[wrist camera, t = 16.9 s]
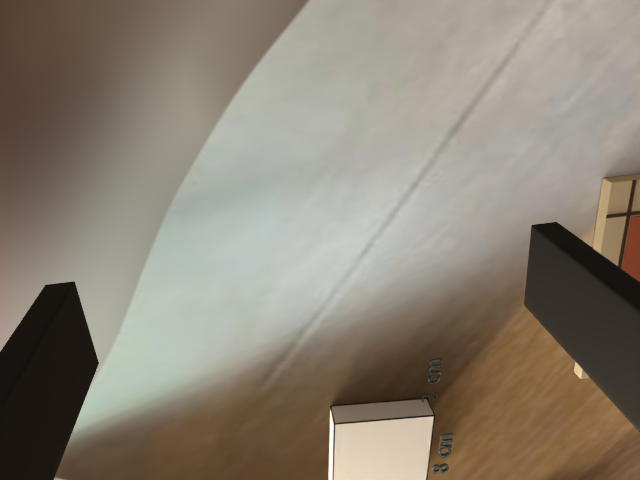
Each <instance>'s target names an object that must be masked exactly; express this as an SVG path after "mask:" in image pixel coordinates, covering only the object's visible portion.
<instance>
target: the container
mask: <svg viewBox="0 0 640 480" xmlns="http://www.w3.org/2000/svg"><path fill="white" fill-rule="evenodd" d="M441 361H442V358H434V359H431V360H429V365H430V366H429V367H428V371H429V372H428V375H437V374H441V372H440V371H431V369H433V368H441V367H442V366H441V364H439V365H431V364H432V363H433V362H441ZM437 376H438V378H437V380H435V381H430V380H429V379H430V376H427V381H428V383H429V384H431V385H435V384H437V383H439V381H440V376H439V375H437ZM424 397H430V398H432V399H433V400H434V401H435V402H437V399H438V392H436V393H435V398H434V397H433V396H432V395H431V394H429V393H424V394H422V395H421V399H411V400H399V401H386V402H374V403H361V404H349V405H337V406H330V434H329V477H328V480H427V478H428V470H429V461H430V453H431V445H432V437H433V429H434V421H435V414H434V412H433V409H432V407H431V405H430V403H429V401H428V399H427V398H424ZM452 436H453V433H446V434H442V435H441V436H440V439H441V441H440V442H439V444H440V446H439V448H440V449H439V450H438V453H439V456H440V457H448V456H449V455H450V454H451V449H450V448H451V447H452V446H451V444H450V445H442V444H443V443H449V442H452V439H443V438H444V437H452ZM445 448H448V449H449V451H448V452H447V453H446V454H441V449H445ZM443 467H446V469H444V470H442V468H443ZM436 468H438V469H437V470H435V469H436ZM432 470H433V472H434V473H439V472H441V473H446V472H447V471H448V470H449V467H448V465H447V464H446V463H443V464H441V465H440V466H439V465H434V466H433V467H432Z"/></svg>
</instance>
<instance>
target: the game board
mask: <svg viewBox="0 0 640 480" xmlns="http://www.w3.org/2000/svg"><path fill="white" fill-rule="evenodd" d="M593 249H594V250H596V251H597V252H599V253H600V254H601V255H603V256H604V257H606V258H607V259H608V260H610V261H611V262H613V263H614V264H615V265H617V266H618V267H619V268H621V269H622V270H624V271H625V272H626V273H628V274H629V275H631V276H632V277H633V278H635V279H636V280H637V281H639V282H640V174H636V175H627V176H618V177H610V178H603V181H602V188H601V195H600V201H599V208H598V215H597V221H596V228H595V235H594V241H593ZM574 372H575V373H576V374H577V375H578V377H579V378H580V379H583V378H590V377H589V376H588V375H587V374H586V373H585V371H584V370H583V369H582V368H581V367H580V366H579V365H578V364H577V363H576V362H575V368H574Z"/></svg>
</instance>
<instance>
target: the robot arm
mask: <svg viewBox="0 0 640 480" xmlns="http://www.w3.org/2000/svg"><path fill="white" fill-rule="evenodd" d="M524 306H525V307H526V308H527V309H528V310H529V311H530V312H531V313H532V314H533V315H534V317H535V318H536V319H537V320H538V321H539V322H540V323H541V324H542V325H543V326H544V328H545V329H546V330H547V331H548V332H549V333H550V334H551V335H552V336H553V337H554V339H555V340H556V341H557V342H558V343H559V344H560V345H561V346H562V347H563V348H564V350H565V351H566V352H567V353H568V354H569V355H570V356H571V357H572V358H573V359H574V360H575V362H576V363H577V364H578V365H579V366H580V367H581V368H582V369H583V370H584V371H585V373H586V374H587V375H588V376H589V377H590V378H591V379H592V380H593V381H594V382H595V384H596V385H597V386H598V387H599V388H600V389H601V390H602V391H603V392H604V393H605V395H606V396H607V397H608V398H609V399H610V400H611V401H612V402H613V403H614V404H615V406H616V407H617V408H618V409H619V410H620V411H621V412H622V413H623V414H624V415H625V417H626V418H627V419H628V420H629V421H630V422H631V423H632V424H633V425H634V426H635V427H636V429H637V430H638V431H639V432H640V282H639V281H637V280H636V279H635V278H633V277H632V276H631V275H629V274H628V273H626V272H625V271H624V270H622V269H621V268H619V267H618V266H617V265H615V264H614V263H613V262H611V261H610V260H608V259H607V258H606V257H604V256H603V255H601V254H600V253H599V252H597V251H596V250H594V249H593V248H592V247H590V246H589V245H588V244H586V243H585V242H583V241H582V240H581V239H579V238H578V237H576V236H575V235H574V234H572V233H571V232H570V231H568V230H567V229H565V228H564V227H563V226H561V225H560V224H558V223H557V222H553V223H545V224H537V225H532V228H531V238H530V249H529V259H528V270H527V280H526V291H525V301H524ZM98 364H99V362H98V359H97V356H96V352H95V349H94V346H93V342H92V339H91V336H90V332H89V329H88V325H87V322H86V319H85V315H84V312H83V309H82V305H81V302H80V298H79V295H78V292H77V288H76V285H75V282H67V283H59V284H50V285H45V287H44V288H43V290H42V291H41V293H40V294H39V296H38V297H37V299H36V300H35V302H34V303H33V305H32V306H31V308H30V309H29V310H28V312H27V313H26V315H25V316H24V318H23V320H22V321H21V323H20V324H19V325H18V327H17V328H16V330H15V331H14V333H13V334H12V335H11V337H10V338H9V340H8V341H7V343H6V345H5V346H4V347H3V349H2V350H1V352H0V480H54V477H55V475H56V472H57V469H58V467H59V464H60V462H61V459H62V457H63V454H64V451H65V449H66V446H67V444H68V441H69V439H70V436H71V433H72V431H73V428H74V426H75V423H76V420H77V418H78V415H79V413H80V410H81V408H82V405H83V402H84V400H85V397H86V395H87V392H88V390H89V387H90V384H91V382H92V379H93V377H94V374H95V372H96V369H97V366H98Z"/></svg>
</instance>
